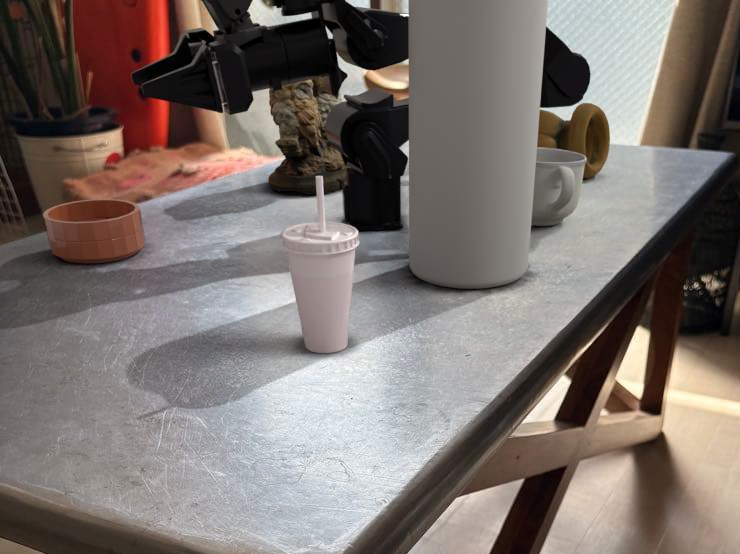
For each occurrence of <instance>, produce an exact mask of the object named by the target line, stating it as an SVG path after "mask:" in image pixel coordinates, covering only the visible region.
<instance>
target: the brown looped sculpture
mask: <svg viewBox="0 0 740 554" xmlns="http://www.w3.org/2000/svg"><path fill="white" fill-rule="evenodd" d="M610 145H611V131H610V124H609V120H608V117H607V115H606V113H605V111H604V110H603V109H602V108H601V107H600V106H598V105H596V104H594V103H591V102H582V103H579V104H578V105H577V106H576V107H575V109H574V111H572V114H571V118H570V119H568V120H567V119H566V120H564V119H563V118H561V117H560V116H559V115H556V113H554V112H551V111H548V110H544V109H540V113H539V127H538V140H537V147H543V148H554V149H561V150H567V151H571V152H576V153H580V154H582V155H584V156H586V158H587V161H586V163H585V167H584V174H583V179H586V180H587V179H590V178H593V177H595V176H597V175H598V174H599V173H600V172H601V171H602V169H603V167H604V166H605V164H606V162H607V160H608V158H609V152H610Z"/></svg>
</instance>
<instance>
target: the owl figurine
mask: <svg viewBox="0 0 740 554" xmlns="http://www.w3.org/2000/svg"><path fill="white" fill-rule="evenodd" d="M268 94H269V95H268V96H269V101H268V103H269V104H268V105H269V107H270V116H271V117H272V120H273V122H274V124H275V125H276V126H278V133H279V139H276V140H275V142H274V143H275V145H276V147H277V148H278V149H279V151H280V152H281V154H282V156H284V159H283V160H282V161H281V162H280V164H279V165H278V166H277V167H276V168H275V169H274V171H273V172H272V173H270V174H269V177H268V178H267V179H268V180H267V181H268V186H269V188H270V189H271V190H272V191H276V190H277V192H280V193H282V191H283V192H297V193H299V194H300V193H301V194H306V195H317V191H316V176H323V190H324V194H327V193H331V192H334V190H335V191H338V190H340V189H341V188H342V183H343V182H347V172H346V169H347V168H351V167H349V166H347V165H345V164H344V162H343V159H342V157H341V154H340V152H339V151H337V150H336V149H334V148H333V147H332V146H331V144H330V143H329V142H328V139H327V136H326V129H325V125H326V120H327V117H328V115H329V113H330V112H331V109H332V108H333V107H334V106H335V105H337V104H339V103H341V102H344V101H343V99H342V97H341V95H342V93H341V89H340V90H339V92H338V94H337V95H332V94H330V93H328V92H326V91H325V90H324V88H323V82H322V77H321V78H316V79H311V80H307V81H302V82H297V83H292V84H287V85H283V86H282V90H277V91H272V90H270V88H269V90H268Z"/></svg>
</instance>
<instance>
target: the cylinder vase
mask: <svg viewBox="0 0 740 554" xmlns="http://www.w3.org/2000/svg"><path fill="white" fill-rule="evenodd" d="M548 5H549V0H408V14H409V59H408V98H409V140H408V265H409V269H410V271H411V272H412V274H413V275H414V276H416V277H417V278H418V279H420V280H421V281H424V282H426V283H428V284H431V285H435V286H439V287H444V288H452V289H459V290H460V289H463V290H464V289H465V290H477V289H479V290H480V289H490V288H496V287H502V286H505V285H508V284H509V285H510V284H511V283H514V282H515V281H518V280H519V279H521V278H522V277H523V276H524V275H525V274H526V272H527V270H528V268H529V259H530V246H531V233H532V225H531V220H532V207H533V194H534V180H535V167H536V153H537V140H538V127H539V113H540V110H541V108H540V100H541V86H542V73H543V60H544V46H545V33H546V27H547V18H548Z"/></svg>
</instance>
